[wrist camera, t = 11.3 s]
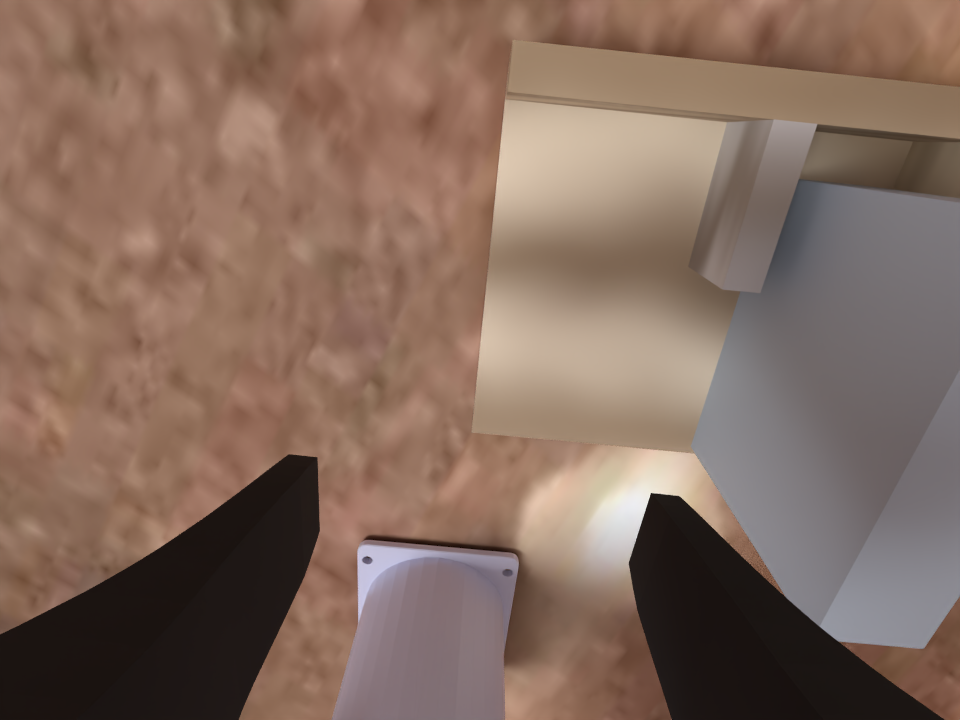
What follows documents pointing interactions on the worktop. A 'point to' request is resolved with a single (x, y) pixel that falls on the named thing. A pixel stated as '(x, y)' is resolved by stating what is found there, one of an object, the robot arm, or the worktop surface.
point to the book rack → (663, 223)
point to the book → (849, 412)
